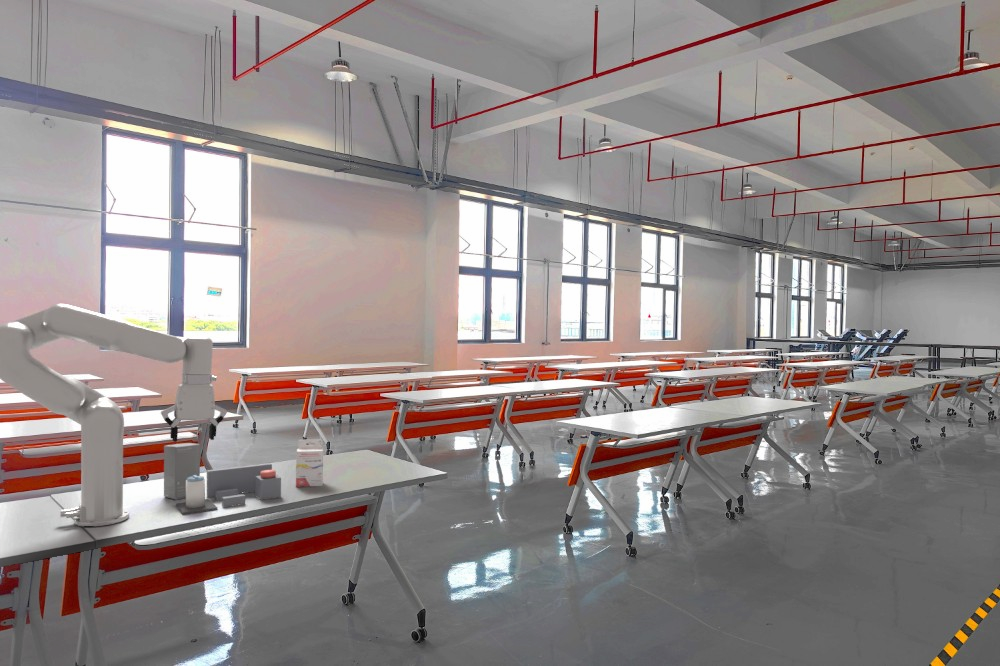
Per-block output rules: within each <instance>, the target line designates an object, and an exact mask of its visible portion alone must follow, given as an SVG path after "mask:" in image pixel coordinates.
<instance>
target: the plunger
mask: <svg viewBox="0 0 1000 666" xmlns="http://www.w3.org/2000/svg"><path fill="white" fill-rule="evenodd" d="M276 472H277V471H276V470H274V469H272V470H264V471H261V478H263V479H267V478H273V477H275V476H276V475H277V473H276Z"/></svg>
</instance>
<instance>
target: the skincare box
mask: <svg viewBox="0 0 1000 666" xmlns="http://www.w3.org/2000/svg"><path fill="white" fill-rule="evenodd" d="M163 451H164V453H163V454H164V455H163V497H165V498H169V499H172V500H175V501H177V500H181V499H182V500H183V499H186V480H187V478H188V477H193V475H197V476H201V475H200V473H201V472H200V471H201V468H200V467H201V462H200V461H201V444H200V443H192V442H185V443H183V442H182V443H176V444H175V443H173V444H166V445H164V446H163Z"/></svg>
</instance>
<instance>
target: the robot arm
mask: <svg viewBox="0 0 1000 666" xmlns="http://www.w3.org/2000/svg"><path fill="white" fill-rule="evenodd" d="M62 338H64V339H66V340H71V341H74V342H75V341H76V342H80V343H83V344H87V345H91V346H95V347H99V348H103V349H107V350H110V351H114V352H121V353H126V354H131V355H135V356H138V357H142V358H146V359H151V360H154V361H159V362H161V363H166V364H175V363H177V362H180V361H182V369H181V370H182V373H181V374H182V375H181V384H178V385H177V389H176V393H175V401H174V404H173V405H172V406H169V407H167V408H165V409H163V410H161V412H160V415H161V416H162V419H163V420H164V421H165V422H166V423H167V424H168V425H169V426H170V439H172V441H173V442H174V443H175V442H177V441H178V433H179V431H178V430H179V428H178V425H179V423H180V422H181V421H207V420H208V421H209V422H210V425H209V428H208V429H209V430H208V438H209V439H210V440H211V441H214V440H215V437H216V436H217V427H218V425H219V424H220V423H221V422H222V421H223V420H224V418H225V416H226V415H227V413H228V411H227V409H225V408H224V407H223V408H222V407H221V406H219V405H217V404H215V403H216V402H215V390H214V385H213V384H212V382H216V381H217V376H214V375H213V374H212V368H213V367H212V364H213V348H214V347H213V346H214V342H213V339H211V338H209V337H203V336H202V337H200V336H188V337H183V336H176V335H171V334H168V333H163V332H161V331H160V332H159V331H158V330H157V331H156V330H153V329H150V328H147V327H144V326H139V325H136V324H134V323H131V322H129V321H126V320H124V319H120V318H117V317H113V316H110V315H106V314H103V313H99V312H95V311H91V310H88V309H84V308H81V307H79V306H73V305H70V304H66V303H56V304H52V305H51V306H49V307H47V308H45V309H43V310H41V311H38V312H35V313H32V314H30V315H27V316H24V317H22V318H19V319H16V320H13V321H10V322H5V323H2V324H0V380H1V381H2V382H3V383H5V384H7V385H9V386H10V387H11V388H13V389H14V390H16V391H18V392H19V393H21V394H23V395H25V397H27V398H29V399H31V400H32V401H34V402H35V403H37V404H40V405H41V406H42V407H44V408H45V409H47V411H50V412H51V413H54V414H57V415H63V416H64V417H66V418H68V419H70V420H71V421H74V422H75V423H77V424H78V425H80V435H81V436H80V437H81V438H80V440H81V443H80V445H81V446H80V449H81V451H80V455H81V456H80V465H81V468H80V471H81V474H80V476H81V477H80V478H81V479H80V482H81V483H80V484H81V487H80V489H81V490H80V495H81V496H80V499H81V500H80V503H78V506H74V508H70V509H69V508H65V509H60V512H59V514H60V515H59V517H60V518H65V519H68V518H69V519H70V518H74V520H73V524H74V525H75V526H78V527H84V526H94V527H103V526H108V525H115V524H118V523H121V522H123V521H125V520H128V518H130V512H129V510H126V509H123V508H124V505H123V504H124V501H123V500H124V477H123V476H124V465H123V464H124V435H125V434H124V433H125V432H124V431H125V418H124V413H123V412H122V409H121V408H120V406H119V405H118V404H117V403H116V402H115V401H114V400H112V399H111V398H108V397H107V396H105V395H104V394H102V393H101V392H99V391H97V390H95V389H93V388H92V387H90V386H89V385H88V384H86V383H84V382H82V381H81V380H79V379H77V378H75V377H72V376H66V375H65V376H64V375H63V374H61V373H59V372H57V371H56V370H54V369H52V368H51V367H49V366H48V365H47V364H45V363H44V362H42V361H40V360H38V359H37V358H36V357H34V356H33V355H32V354H31V351H32V350H34V349H36V348H39V347H42V346H44V345H47V344H50V343H52V342H54V341H57V340H59V339H62ZM216 411H217V412H219V415H218V416H217V417H216V418H215V412H216ZM172 412H173V416H174V418H173V420H172V419H171V418H170V417H169V414H170V413H172Z"/></svg>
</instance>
